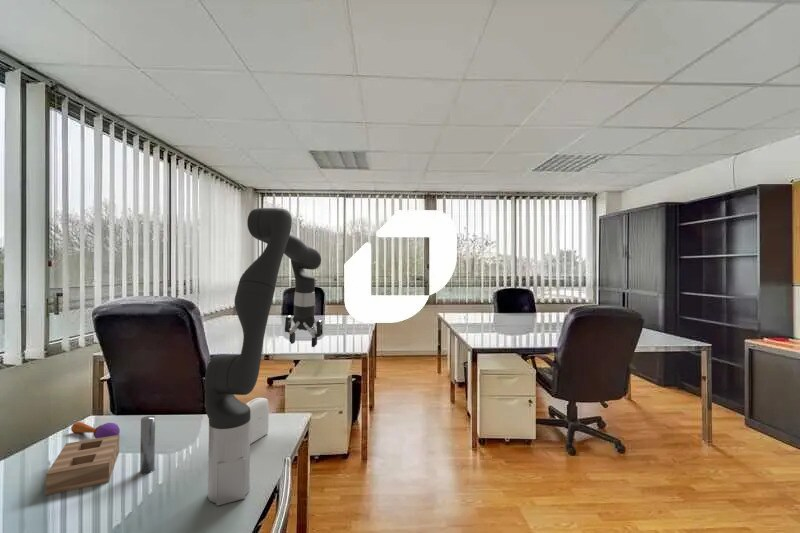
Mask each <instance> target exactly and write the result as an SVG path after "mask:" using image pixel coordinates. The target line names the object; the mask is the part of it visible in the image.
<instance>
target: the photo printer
mask: <svg viewBox="0 0 800 533" xmlns="http://www.w3.org/2000/svg"><path fill="white" fill-rule="evenodd" d="M245 404H246V405H248V406H249V408H250V412H251V417H250V445H251V444H253V443H255V442H256V441H258V440H260V439H261V438H263V437H264V436H266V435H267V434H268V433H269V425H270V424H269V422H270V420H269V418H270V417H269V416H270V414H269V412H270V410H269V408H270V404H269V400H268V399H267V398H266V397H256V398H253V399H251V400H250V401H248V402H246V403H245Z"/></svg>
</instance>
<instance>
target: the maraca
mask: <svg viewBox="0 0 800 533" xmlns="http://www.w3.org/2000/svg"><path fill="white" fill-rule="evenodd" d="M70 431H71V432H73V433H81V434H83V433H86V434H87V433H88V434H89V433H93V437H94V439H96V438H102V437H108V436H114V435H119V436H120V431H121V430H120V428H119V425H118V424H116V423H115V422H107V423H104V424H101V425H99V426H97V427H93V426H90V425H88V424H86V423H84V422H82V421H76V422H74V423H72V425H71V428H70Z"/></svg>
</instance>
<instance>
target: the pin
mask: <svg viewBox="0 0 800 533" xmlns="http://www.w3.org/2000/svg"><path fill="white" fill-rule="evenodd" d="M155 447H156V416H155V415H146V416H144V417H142V418H140V450H139V451H140V452H139V453H140V457H139V458H140V460H139V473H140V474H142V475H143V474H144V473H146V474H150V473H152V472H153V470H154V471H155V464H156V463H155V462H156V461H155V460H156V459H155V458H156V457H155V456H156V452H155V451H156V450H155V449H156V448H155ZM151 471H152V472H151ZM149 472H150V473H149ZM144 475H145V474H144Z"/></svg>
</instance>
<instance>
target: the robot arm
mask: <svg viewBox="0 0 800 533" xmlns="http://www.w3.org/2000/svg"><path fill="white" fill-rule="evenodd" d="M292 220H293V219H292V214H291V212H290V211H289V210H288V209H286V208H281V207H260V208H259V207H258V208H255V209H252V210H251V211H250V212H249V214H248V216H247V220H246V221H247V230H248V232H249V234H250V235H251V236H252V238H254V239H256V240H258V241H260V242H263V243H265V244H267V245H266V247H265V249H264V251H262V253H261V254H260V256H258V258H256V260H254V262H252V263H251V264H250V265H249V266H248V268H246V269H245V271H244V272H243V273H242V275H241V276H240V278H239V281H238V285H237V288H236V292H235V294H234V295H235V296H234V308H235V311H236V315H237V317H238V320H239V322H240V325H241V329H242V332H243V333H242V334H243V336H242V337H243V338H242V346H241V352H240V354H229V353H227V354H226V353H220V354H216V355H214V356H213V357H212V358H211V359H210V361H209V362H208V363H207V366H206V369H205V373H204V374H205V375H204V391H205V411H206V415H207V418H208V454H207V456H208V458H207V460H208V461H207V463H208V464H207V465H208V466H207V467H208V468H207V469H208V470H207V499H208V501H210V502H211V503H214V504H215V506H216V507H217V506H222V505H225V504H230V503H232V502H233V503H234V502H236V501H241V500H245V499H246V495H247V494H248V493H249V491H250V487H251V486H250V482H251V481H250V478H251V476H250V473H251V468H250V467H251V465H250V464H251V444H250V417H251V412H250V408H249V406H248V405H246V403H244V402H242V401H241V400H239V399H238V398H237V397H236V396H235V395H237V396H246V395H248V394H250V393H251V392H252V391H253V390H254V388H255V386H256V384H257V381H258V378H259V374H260V368H261V361H262V354H263V346H264V340H265V333H266V329H267V324H268V319H269V315H270V312H271V308H272V304H273V300H274V296H275V291H276V287H277V286H276V285H277V280H278V276H279V271H280V268H281V262H282V260H283V256H284V255H285V256H286V257H287V258H289V259H290V263H291V266H292V267H291V268H292V270H293V271H292V272H293V276H294V280H295V281H294V282H295V283H294V286H295V288H294V295H293V296H294V297H293V316H292V315H291V314H289V315H288V316H286V317H285V322H284V324H285V325H284V332H285V333H288V334H289V343H290V344H291V345H293V344H295V343H296V331H297V330H299V331H302V330H303V331H307V333H308V334H310V335H311V348H315V347H316V346H317V345H318V338H320V337H321V336H322V335H323V329H324V328H323V327H324V326H323V320H322V319H319V320H317V319H315V315H316V314H315V310H316V309H315V308H316V294H315V291H316V279H315V276H314V275H311V274H308V273H307V272H306V271H305V270H312V271H313V270H317V269H318V268H319V267H320V265H321V264H322V257H321V253H320V252H319V251H318V250H317V249H315V248H313V247H311V246H309V245H306V244H305V242H303V241H302V239H301V238H299V237H298V236H296V235H294V234H292V233H291V230H292V225H293V224H292V223H293V222H292ZM292 322H293V323H294V325H293V326H292ZM314 325H315V326H316V327H315V326H314Z"/></svg>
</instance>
